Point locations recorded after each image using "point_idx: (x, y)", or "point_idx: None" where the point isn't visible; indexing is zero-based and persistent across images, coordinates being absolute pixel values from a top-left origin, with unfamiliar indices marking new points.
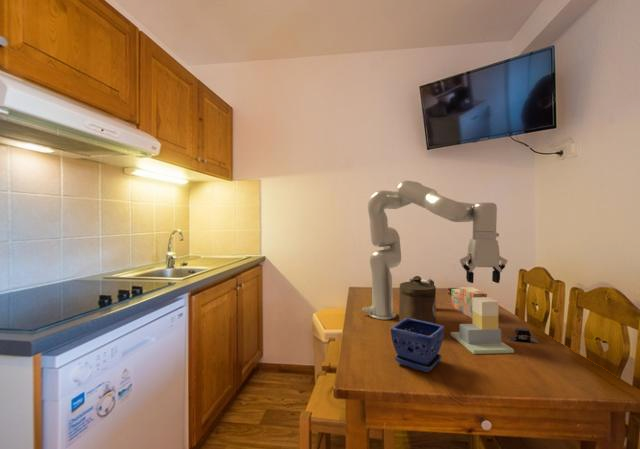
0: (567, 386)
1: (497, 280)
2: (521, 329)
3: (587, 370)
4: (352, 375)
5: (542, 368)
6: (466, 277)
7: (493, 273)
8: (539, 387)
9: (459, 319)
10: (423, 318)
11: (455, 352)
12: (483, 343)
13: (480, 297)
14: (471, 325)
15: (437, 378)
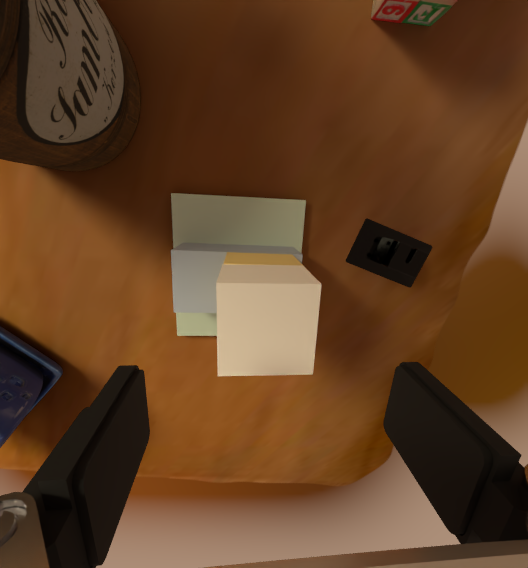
0: (285, 453)
1: (395, 446)
2: (401, 263)
3: (379, 409)
4: None
5: (296, 400)
6: (76, 420)
7: (456, 446)
8: (231, 455)
9: (306, 2)
10: (19, 162)
11: (132, 319)
12: None
13: (271, 286)
14: (212, 269)
15: (37, 427)
